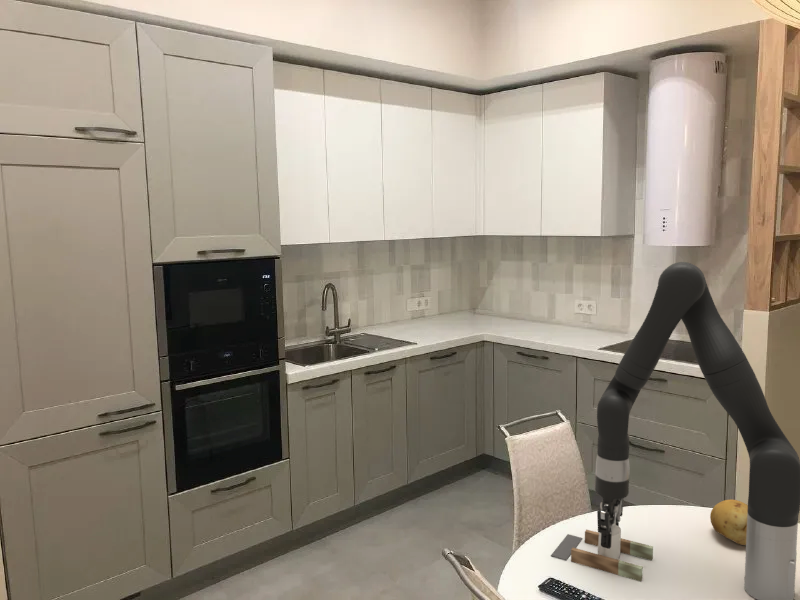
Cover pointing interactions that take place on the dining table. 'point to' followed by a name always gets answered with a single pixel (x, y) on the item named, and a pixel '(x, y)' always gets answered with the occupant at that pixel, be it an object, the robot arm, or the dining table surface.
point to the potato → (730, 520)
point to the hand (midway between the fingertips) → (609, 541)
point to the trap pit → (566, 547)
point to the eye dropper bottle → (615, 544)
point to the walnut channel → (610, 563)
